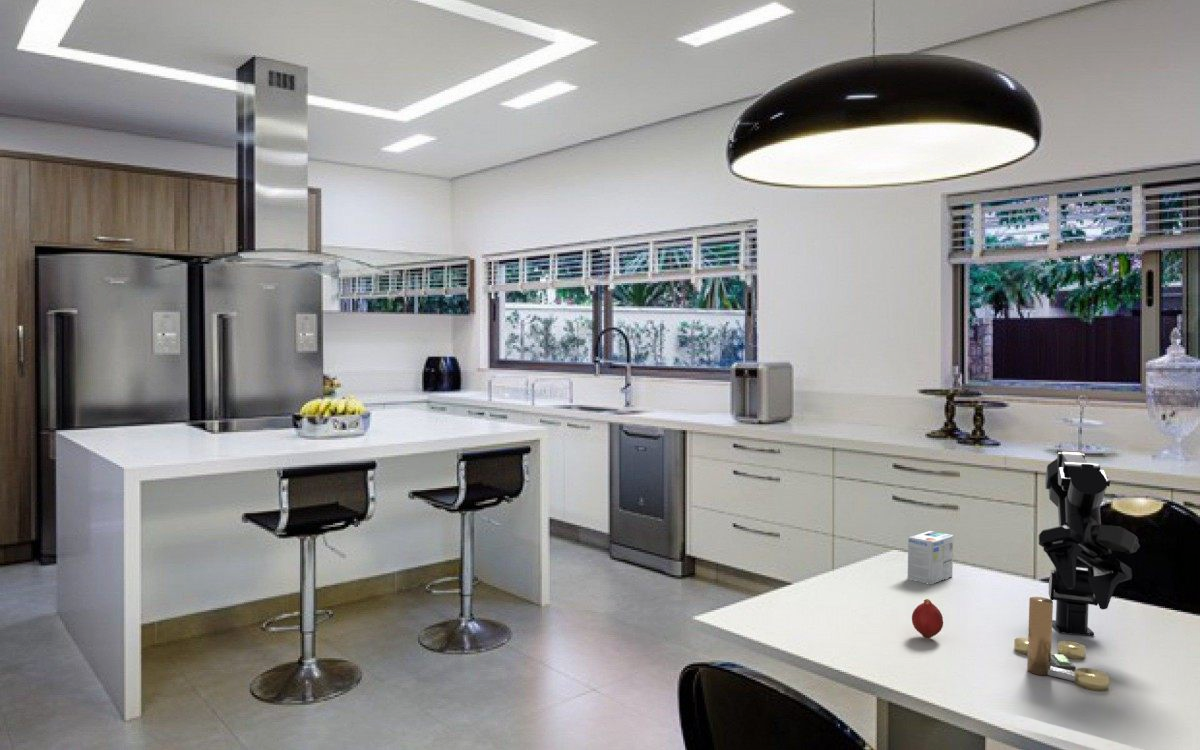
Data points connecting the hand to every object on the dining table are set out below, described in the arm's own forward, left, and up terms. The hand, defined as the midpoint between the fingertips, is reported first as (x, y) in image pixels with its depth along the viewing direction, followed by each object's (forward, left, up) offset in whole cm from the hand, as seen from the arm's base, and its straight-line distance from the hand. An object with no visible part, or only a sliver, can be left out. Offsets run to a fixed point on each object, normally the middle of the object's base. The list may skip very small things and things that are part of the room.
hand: (1087, 598), depth 146 cm
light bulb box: (-53, -17, -13) cm, 57 cm away
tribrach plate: (+3, -5, -13) cm, 14 cm away
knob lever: (+8, -6, -12) cm, 15 cm away
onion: (-10, -25, -13) cm, 30 cm away
